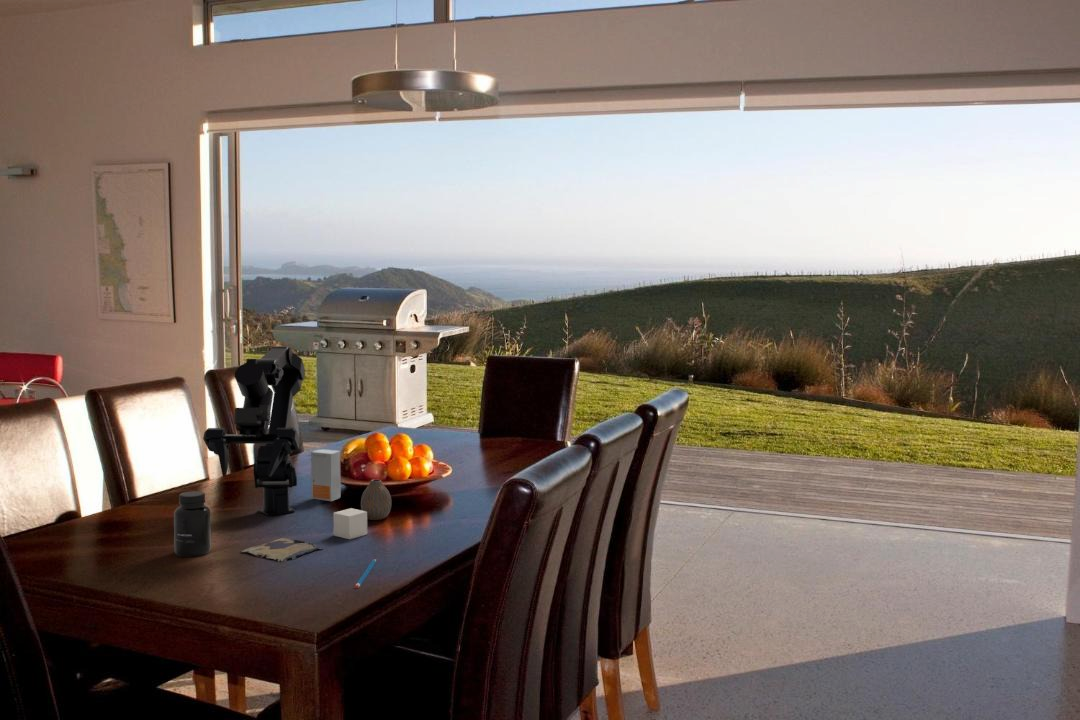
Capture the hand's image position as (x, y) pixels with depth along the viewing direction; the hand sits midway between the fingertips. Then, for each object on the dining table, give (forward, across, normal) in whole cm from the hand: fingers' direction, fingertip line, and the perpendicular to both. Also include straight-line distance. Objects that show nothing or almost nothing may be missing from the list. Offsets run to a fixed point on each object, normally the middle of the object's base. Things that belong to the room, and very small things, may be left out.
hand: (246, 476), depth 192 cm
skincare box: (-13, +10, +40) cm, 43 cm away
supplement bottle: (+15, -10, +5) cm, 18 cm away
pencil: (+24, +27, -6) cm, 37 cm away
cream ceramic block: (+7, +20, +14) cm, 25 cm away
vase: (-1, +24, +25) cm, 34 cm away
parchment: (+14, +8, +6) cm, 17 cm away
